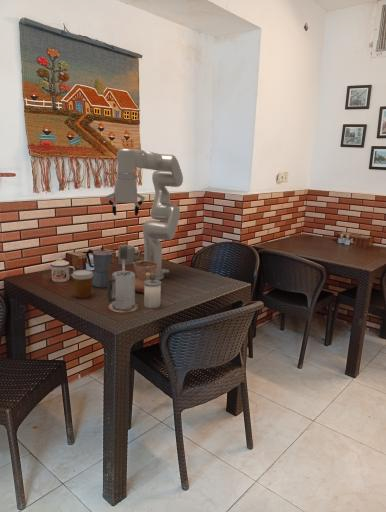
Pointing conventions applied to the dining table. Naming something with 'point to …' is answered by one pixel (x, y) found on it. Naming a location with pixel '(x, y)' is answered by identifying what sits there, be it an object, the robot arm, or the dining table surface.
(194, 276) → the dining table surface
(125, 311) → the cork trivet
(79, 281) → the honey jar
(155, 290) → the cream press
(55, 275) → the teacup with lid
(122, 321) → the dining table surface
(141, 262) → the ceramic jug
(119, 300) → the steel press
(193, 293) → the dining table surface
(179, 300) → the dining table surface
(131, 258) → the coffee mug
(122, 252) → the plunger
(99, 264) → the moka pot
